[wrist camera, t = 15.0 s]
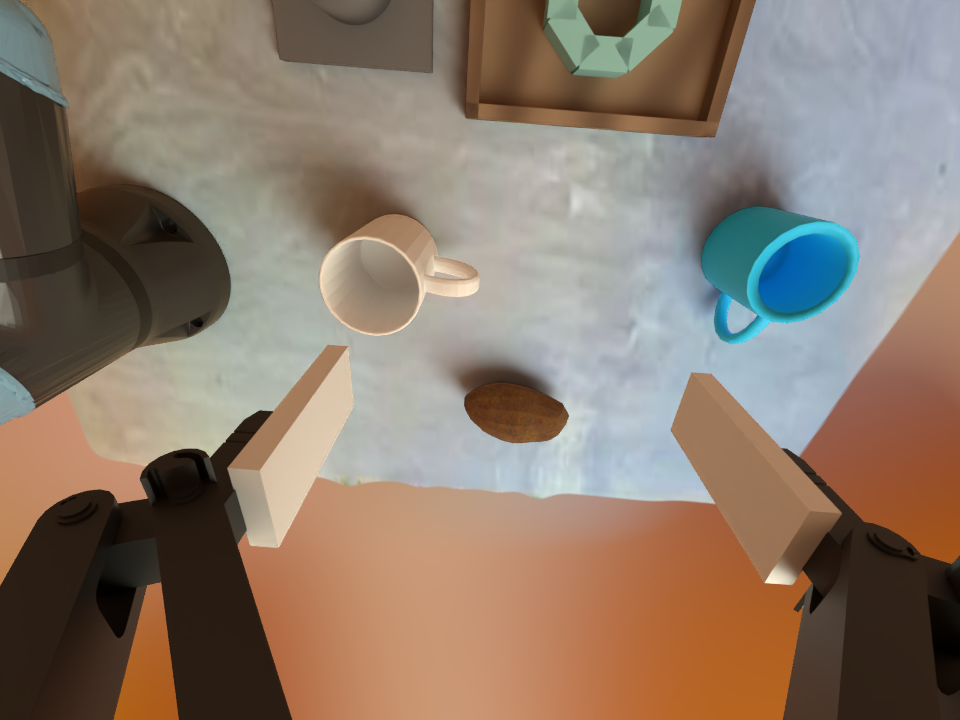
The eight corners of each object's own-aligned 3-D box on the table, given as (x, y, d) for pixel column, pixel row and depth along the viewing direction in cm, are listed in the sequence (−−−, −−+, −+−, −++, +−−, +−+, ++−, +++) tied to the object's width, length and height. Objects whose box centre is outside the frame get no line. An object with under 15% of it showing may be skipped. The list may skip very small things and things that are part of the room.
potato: (556, 426, 50) (565, 466, 44) (462, 414, 49) (457, 453, 43) (568, 378, 46) (580, 414, 40) (468, 366, 46) (464, 400, 40)
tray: (467, 118, 35) (465, 117, 32) (480, -160, 27) (479, -187, 25) (700, 137, 35) (714, 136, 33) (778, -135, 27) (803, -159, 25)
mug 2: (728, 195, 37) (785, 208, 30) (809, 218, 38) (883, 236, 31) (668, 315, 43) (704, 350, 35) (739, 333, 43) (789, 371, 36)
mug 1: (363, 292, 42) (326, 334, 33) (354, 211, 39) (310, 234, 29) (480, 296, 42) (477, 339, 33) (482, 216, 38) (479, 239, 29)
